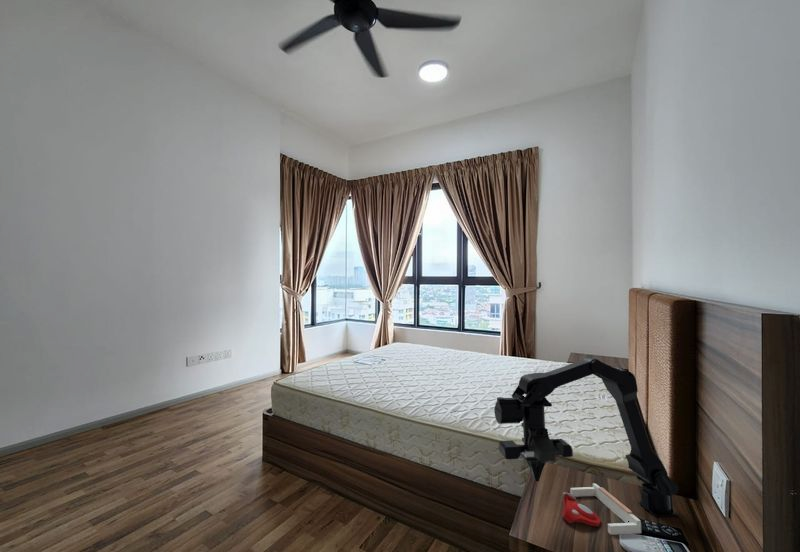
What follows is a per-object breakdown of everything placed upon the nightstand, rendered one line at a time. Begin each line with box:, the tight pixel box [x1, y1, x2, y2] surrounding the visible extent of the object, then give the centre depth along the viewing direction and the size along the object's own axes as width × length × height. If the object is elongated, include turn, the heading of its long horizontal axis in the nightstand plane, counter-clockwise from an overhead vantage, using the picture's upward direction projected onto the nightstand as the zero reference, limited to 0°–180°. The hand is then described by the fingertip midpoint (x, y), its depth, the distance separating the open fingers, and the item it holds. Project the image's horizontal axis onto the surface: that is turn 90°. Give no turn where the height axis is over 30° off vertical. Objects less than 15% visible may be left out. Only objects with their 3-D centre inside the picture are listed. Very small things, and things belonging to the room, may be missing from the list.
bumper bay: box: [569, 482, 642, 536], centre depth 95 cm, size 8×18×3 cm, turn 3°
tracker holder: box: [561, 491, 601, 527], centre depth 93 cm, size 12×4×10 cm
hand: (536, 480), depth 94 cm, fingers closed
